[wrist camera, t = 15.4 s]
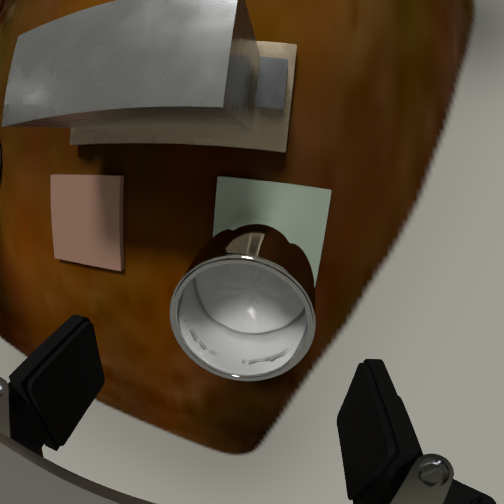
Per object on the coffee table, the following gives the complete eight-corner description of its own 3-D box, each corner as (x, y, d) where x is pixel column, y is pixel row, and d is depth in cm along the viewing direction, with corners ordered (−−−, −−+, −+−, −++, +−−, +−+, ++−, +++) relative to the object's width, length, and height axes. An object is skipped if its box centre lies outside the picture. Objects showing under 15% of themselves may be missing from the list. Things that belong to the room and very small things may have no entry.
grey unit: (296, 50, 22) (302, -31, 9) (285, 152, 25) (286, 145, 13) (89, 59, 24) (1, 31, 11) (77, 144, 27) (-19, 151, 14)
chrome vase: (223, 201, 26) (150, 254, 12) (302, 195, 25) (320, 246, 11) (231, 274, 29) (181, 381, 14) (306, 271, 28) (318, 383, 13)
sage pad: (330, 189, 26) (331, 190, 25) (312, 291, 29) (313, 295, 28) (219, 176, 27) (217, 176, 26) (211, 278, 30) (210, 281, 29)
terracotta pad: (124, 175, 27) (120, 176, 27) (124, 268, 31) (121, 271, 30) (55, 174, 28) (50, 174, 27) (58, 256, 31) (54, 258, 30)
